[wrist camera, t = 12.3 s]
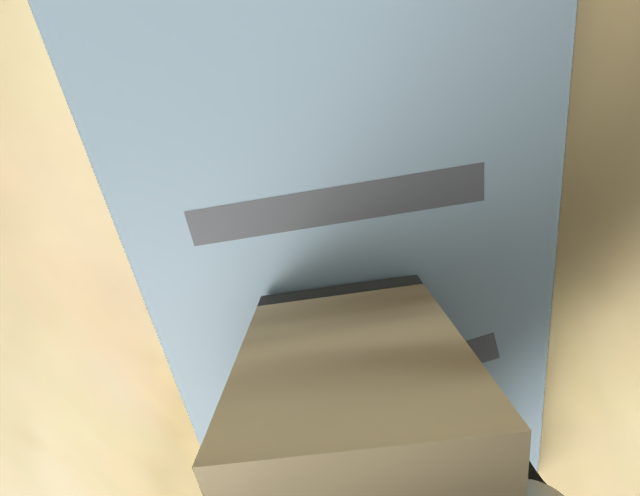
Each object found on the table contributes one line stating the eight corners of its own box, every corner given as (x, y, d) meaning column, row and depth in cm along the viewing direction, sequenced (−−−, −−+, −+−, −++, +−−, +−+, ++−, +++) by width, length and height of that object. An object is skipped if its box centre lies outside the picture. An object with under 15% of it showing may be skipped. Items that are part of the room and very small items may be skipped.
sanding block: (261, 295, 9) (192, 467, 4) (416, 274, 9) (532, 431, 4) (306, 486, 11) (296, 729, 7) (428, 474, 11) (507, 716, 6)
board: (-2, -201, 7) (-86, -291, 5) (550, -342, 6) (619, -489, 5) (249, 512, 14) (241, 553, 13) (511, 485, 14) (533, 525, 12)
